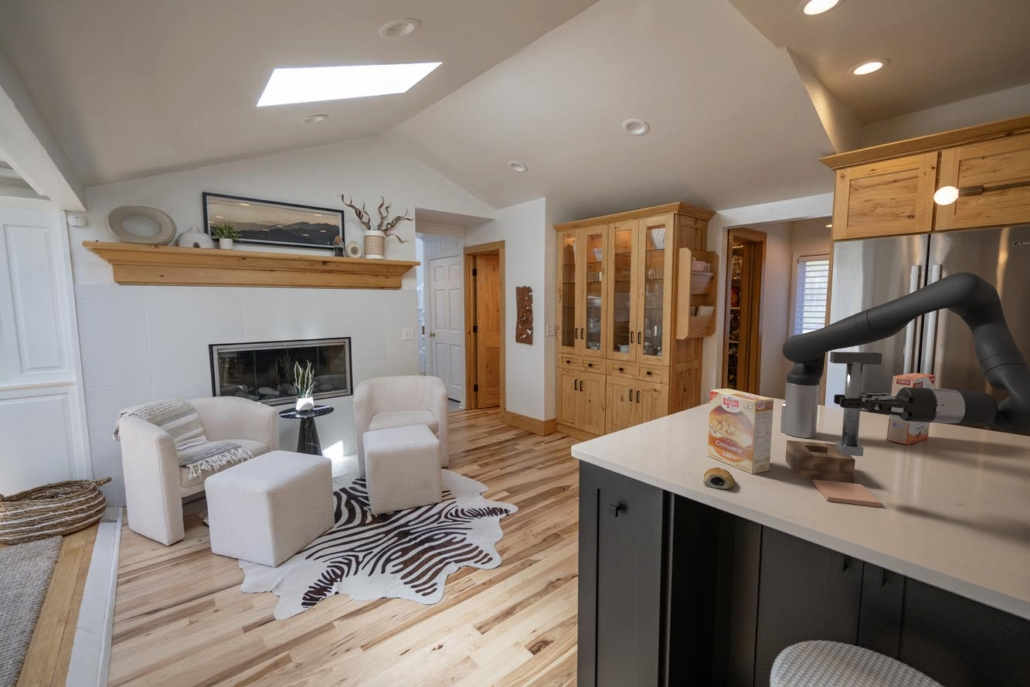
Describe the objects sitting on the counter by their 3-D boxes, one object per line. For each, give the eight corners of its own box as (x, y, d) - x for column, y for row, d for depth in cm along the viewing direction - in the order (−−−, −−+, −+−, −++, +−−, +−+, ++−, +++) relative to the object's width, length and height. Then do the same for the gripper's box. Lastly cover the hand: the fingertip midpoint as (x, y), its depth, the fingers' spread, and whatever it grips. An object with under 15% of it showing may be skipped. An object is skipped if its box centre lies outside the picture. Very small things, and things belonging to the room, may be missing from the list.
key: (829, 453, 104) (835, 353, 102) (823, 448, 108) (829, 351, 106) (876, 457, 102) (883, 354, 99) (868, 451, 105) (875, 352, 103)
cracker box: (908, 446, 139) (915, 378, 137) (885, 440, 144) (891, 375, 142) (930, 439, 146) (936, 374, 143) (906, 434, 151) (912, 371, 149)
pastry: (706, 473, 119) (706, 459, 119) (734, 478, 116) (735, 464, 116) (702, 487, 111) (703, 472, 111) (733, 492, 108) (734, 477, 108)
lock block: (798, 477, 116) (799, 454, 115) (785, 460, 127) (786, 440, 127) (853, 483, 112) (855, 459, 112) (835, 465, 124) (836, 444, 123)
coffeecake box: (706, 456, 132) (709, 389, 129) (724, 452, 134) (727, 387, 132) (751, 474, 118) (755, 400, 116) (770, 470, 121) (774, 398, 119)
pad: (827, 501, 103) (827, 496, 103) (813, 483, 112) (813, 479, 112) (880, 507, 100) (880, 502, 100) (860, 488, 109) (861, 484, 109)
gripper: (913, 382, 106) (827, 379, 111) (950, 395, 92) (850, 390, 97) (910, 414, 106) (825, 409, 111) (947, 431, 93) (848, 425, 98)
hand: (837, 400), depth 104 cm, fingers closed on key, 3 cm apart
